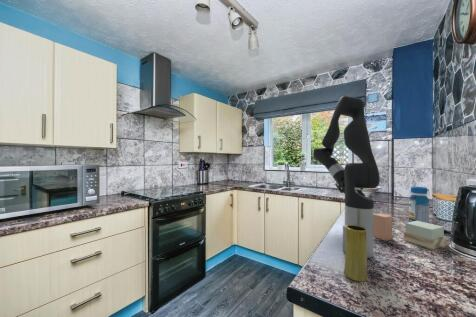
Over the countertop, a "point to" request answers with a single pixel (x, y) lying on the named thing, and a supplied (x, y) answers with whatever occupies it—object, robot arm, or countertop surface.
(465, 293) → the countertop surface
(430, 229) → the tower top
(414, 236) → the tower base
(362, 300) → the countertop surface
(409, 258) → the countertop surface
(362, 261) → the vase
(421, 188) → the beverage bottle
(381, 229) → the square block
